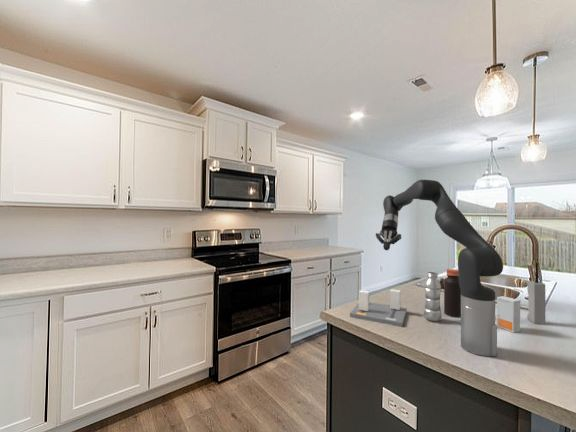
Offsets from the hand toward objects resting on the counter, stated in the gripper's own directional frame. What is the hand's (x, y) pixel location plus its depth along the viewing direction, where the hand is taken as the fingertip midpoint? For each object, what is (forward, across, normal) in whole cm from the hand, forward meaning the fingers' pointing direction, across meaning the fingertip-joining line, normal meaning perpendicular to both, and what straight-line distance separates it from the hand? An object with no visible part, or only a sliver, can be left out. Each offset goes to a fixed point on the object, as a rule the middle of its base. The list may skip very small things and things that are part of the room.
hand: (386, 249), depth 129 cm
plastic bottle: (+26, +20, +14) cm, 36 cm away
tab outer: (+30, -7, +7) cm, 31 cm away
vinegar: (+18, +28, +22) cm, 40 cm away
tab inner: (+23, +5, +14) cm, 27 cm away
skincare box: (+23, +46, +17) cm, 54 cm away
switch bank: (+29, -1, +11) cm, 31 cm away
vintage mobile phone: (+12, +58, +28) cm, 65 cm away
